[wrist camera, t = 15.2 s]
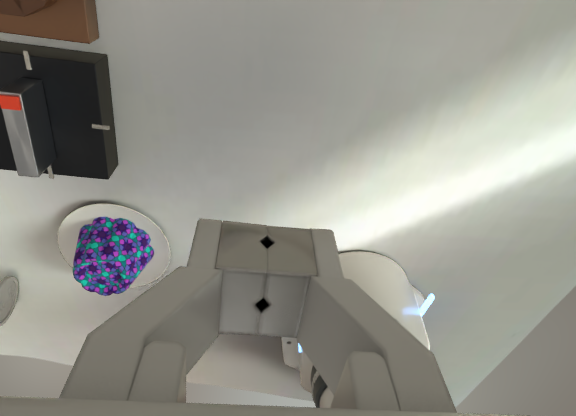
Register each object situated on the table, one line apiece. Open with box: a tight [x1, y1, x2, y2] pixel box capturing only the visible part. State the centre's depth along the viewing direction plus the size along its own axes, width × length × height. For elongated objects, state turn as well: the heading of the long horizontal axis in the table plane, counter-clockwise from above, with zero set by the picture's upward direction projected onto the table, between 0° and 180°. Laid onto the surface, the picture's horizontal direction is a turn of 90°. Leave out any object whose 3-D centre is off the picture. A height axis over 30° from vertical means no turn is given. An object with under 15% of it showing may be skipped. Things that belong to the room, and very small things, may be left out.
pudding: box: [57, 204, 171, 296], centre depth 43 cm, size 12×12×5 cm
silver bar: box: [0, 78, 57, 177], centre depth 33 cm, size 7×2×4 cm, turn 172°
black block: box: [0, 41, 118, 179], centre depth 35 cm, size 11×11×3 cm
